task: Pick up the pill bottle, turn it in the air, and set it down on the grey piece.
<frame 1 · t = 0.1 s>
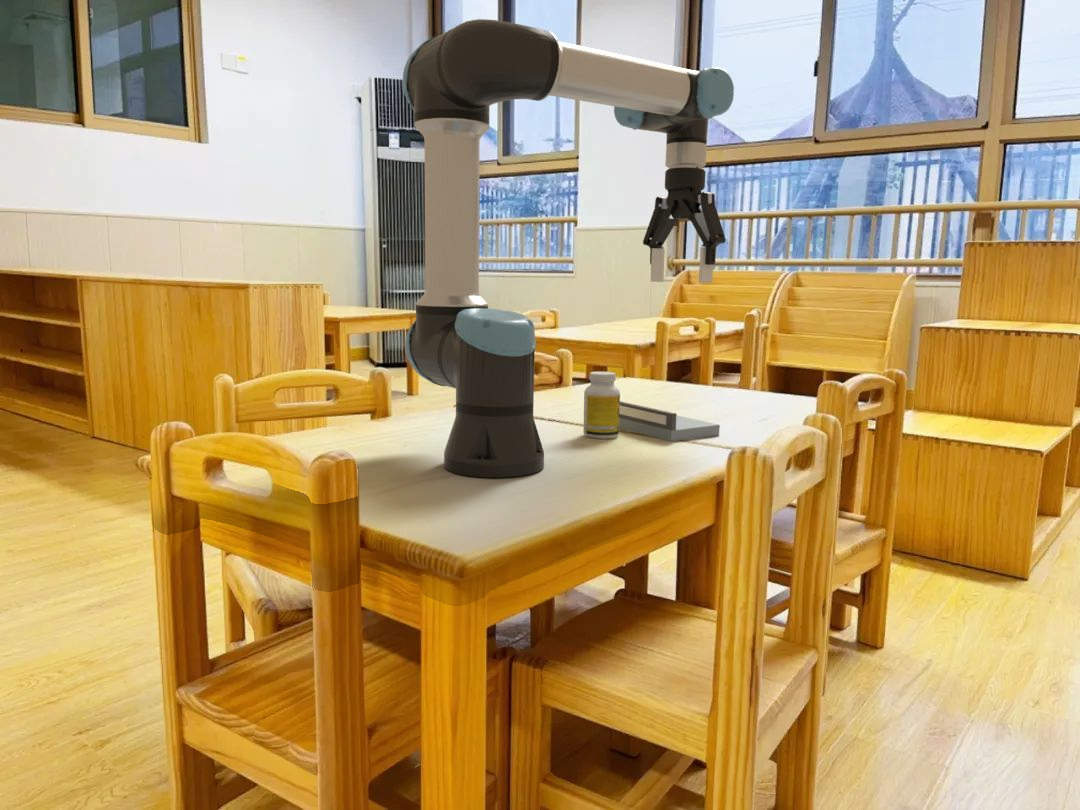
hand: (680, 282, 156), 28 cm above the table, fingers open, 13 cm apart
pill bottle: (600, 437, 148), on the table
grey piece: (665, 431, 154), on the table
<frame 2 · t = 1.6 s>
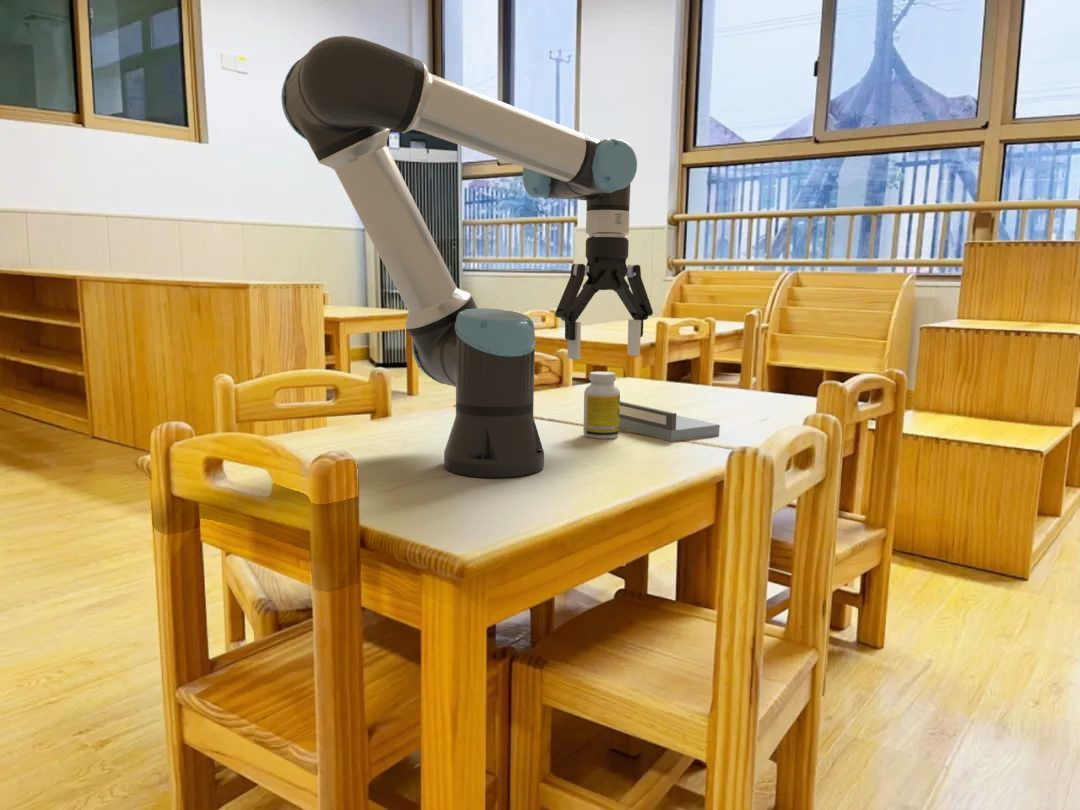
hand: (604, 357, 146), 14 cm above the table, fingers open, 13 cm apart
nothing on the table moved.
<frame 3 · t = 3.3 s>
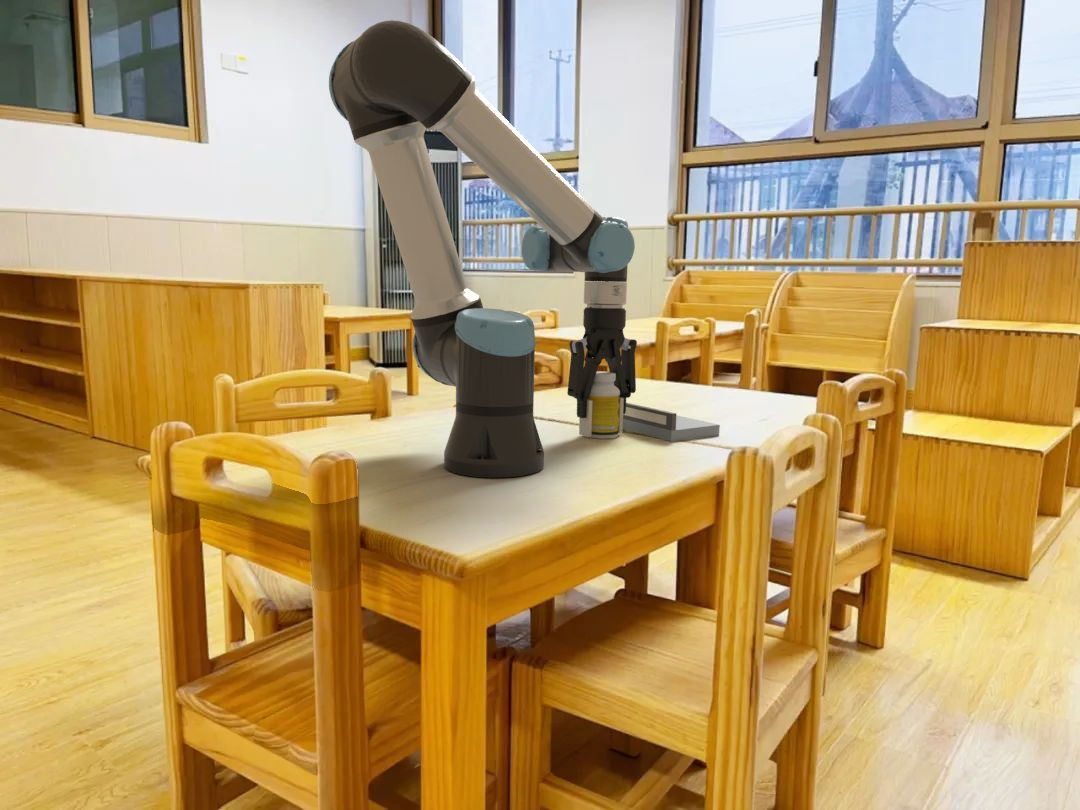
hand: (600, 433, 148), 0 cm above the table, fingers closed on pill bottle, 6 cm apart
pill bottle: (600, 437, 148), on the table, touching gripper
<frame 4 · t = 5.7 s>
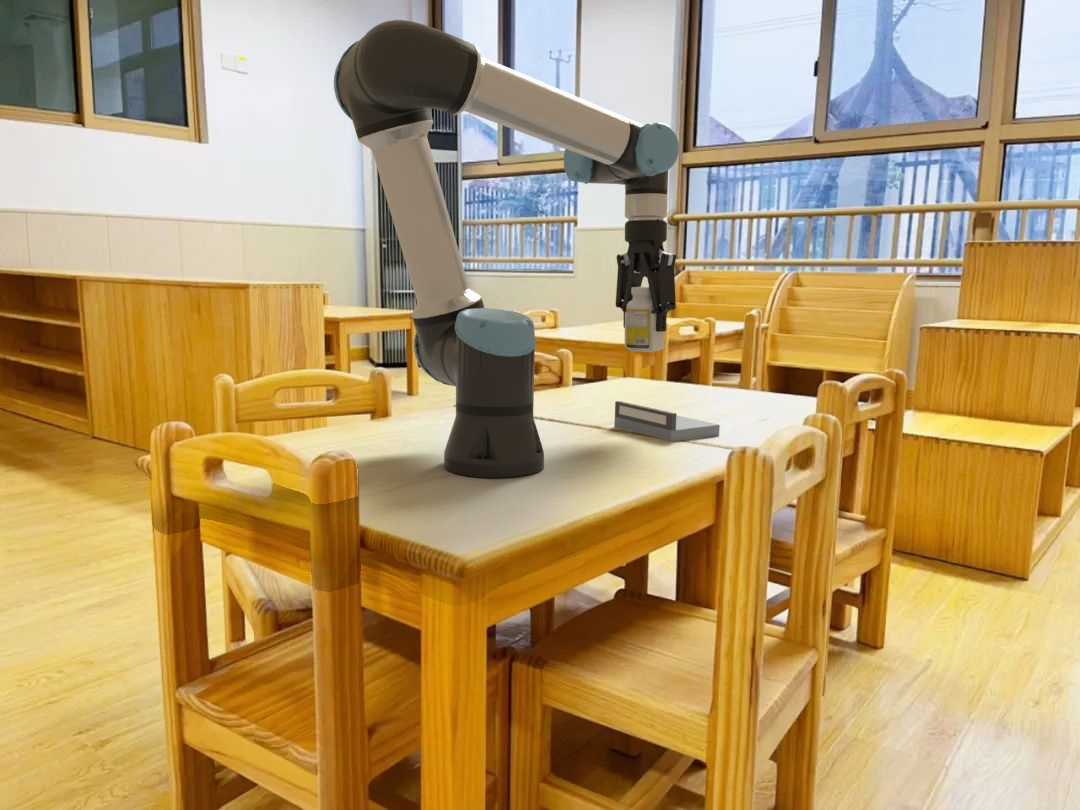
hand: (644, 347, 149), 16 cm above the table, fingers closed on pill bottle, 6 cm apart
pill bottle: (643, 351, 149), point 15 cm above the table, touching gripper
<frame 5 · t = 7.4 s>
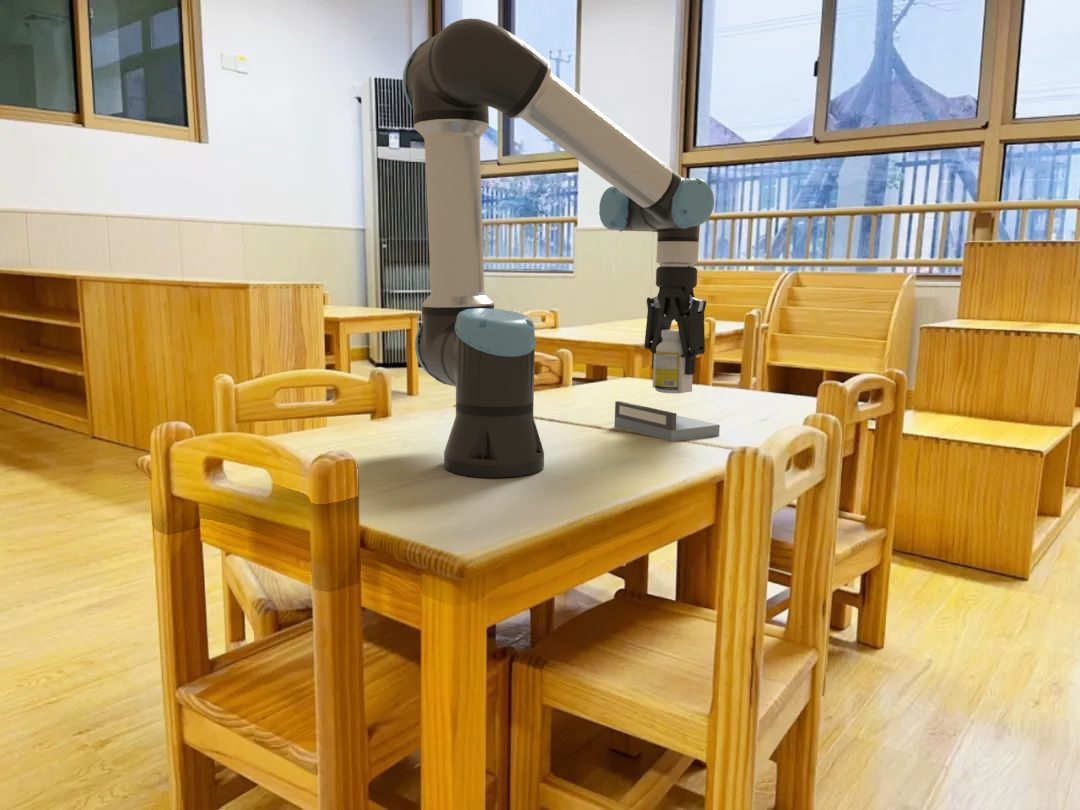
hand: (672, 389, 153), 8 cm above the table, fingers closed on pill bottle, 6 cm apart
pill bottle: (671, 392, 153), point 7 cm above the table, touching gripper
when the fingers open (4 cm above the table, at t = 8.4 s): pill bottle drops 2 cm, resting on grey piece.
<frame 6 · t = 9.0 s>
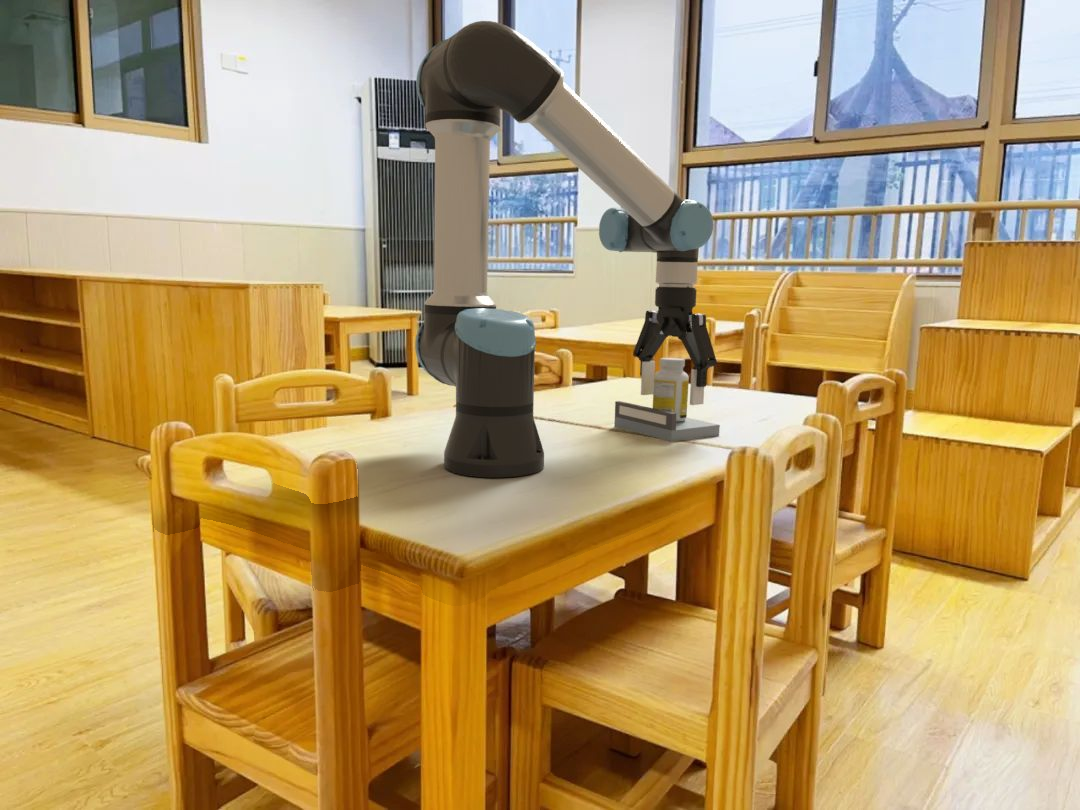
hand: (671, 399, 153), 6 cm above the table, fingers open, 13 cm apart
pill bottle: (668, 420, 154), point 2 cm above the table, touching grey piece
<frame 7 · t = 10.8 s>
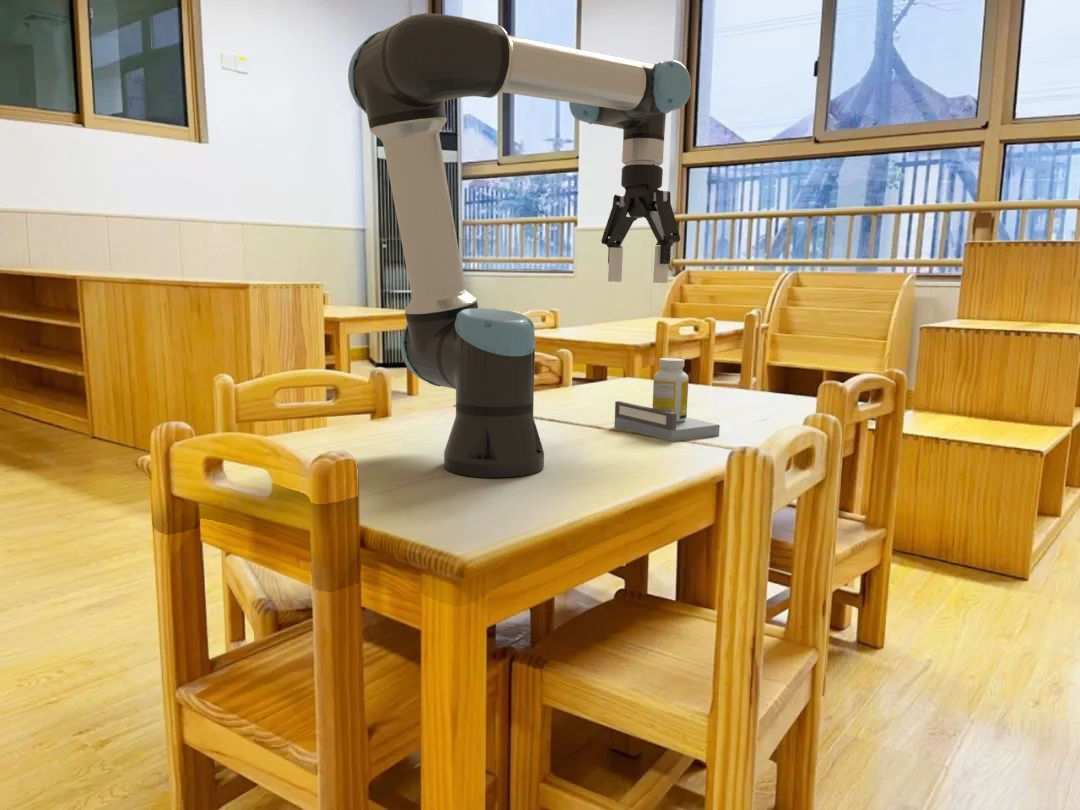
hand: (636, 282, 152), 28 cm above the table, fingers open, 13 cm apart
nothing on the table moved.
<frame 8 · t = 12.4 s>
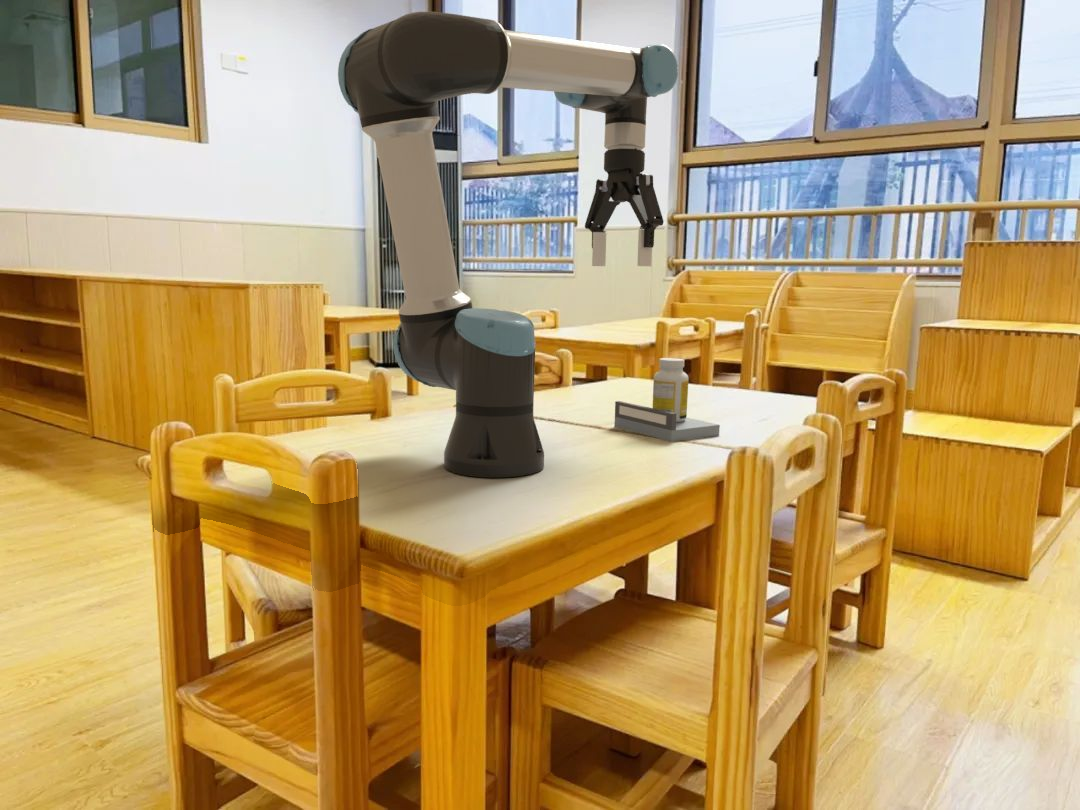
hand: (620, 266, 154), 31 cm above the table, fingers open, 13 cm apart
nothing on the table moved.
at the end: pill bottle inside the target area on the grey piece (0.3 cm from its centre), point 1.8 cm above the grey piece's base; pill bottle tilted 1°; the gripper is holding nothing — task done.
